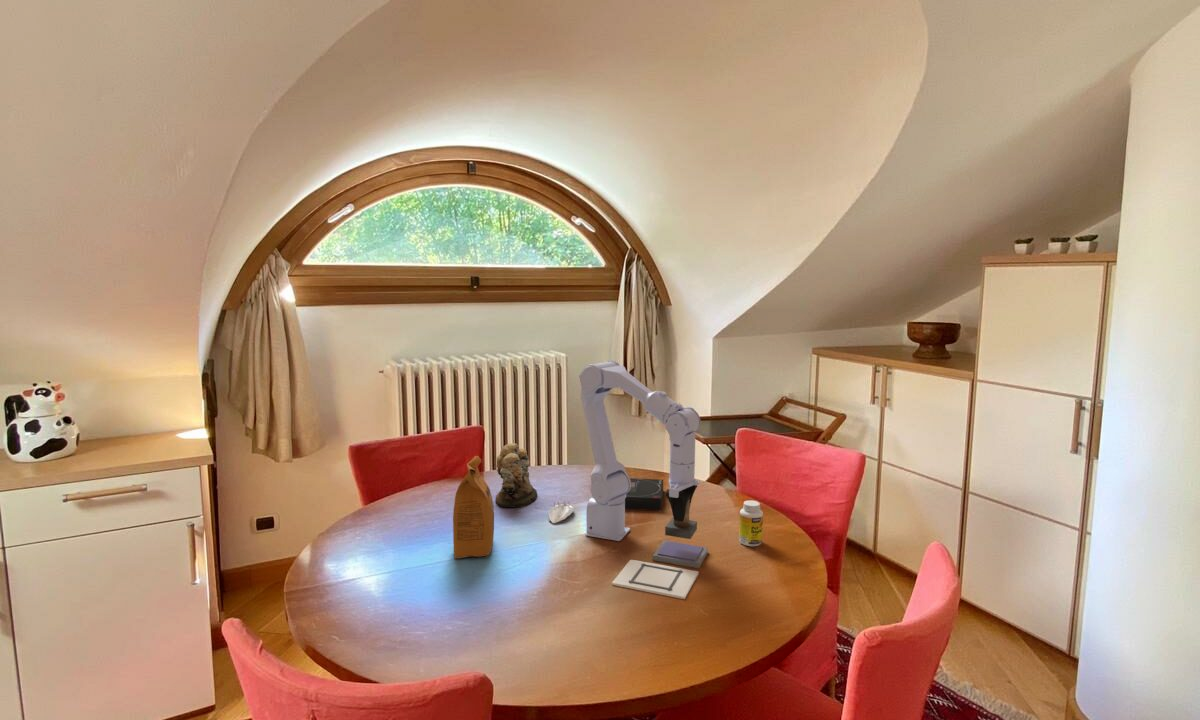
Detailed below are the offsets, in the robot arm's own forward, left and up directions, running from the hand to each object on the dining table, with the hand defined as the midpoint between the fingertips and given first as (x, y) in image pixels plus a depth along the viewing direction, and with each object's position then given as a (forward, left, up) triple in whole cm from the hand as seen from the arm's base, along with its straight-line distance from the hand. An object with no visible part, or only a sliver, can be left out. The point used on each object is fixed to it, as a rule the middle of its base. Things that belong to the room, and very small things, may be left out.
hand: (681, 517), depth 149 cm
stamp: (0, 0, -4) cm, 4 cm away
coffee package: (-47, -15, -10) cm, 50 cm away
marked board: (-2, -13, -10) cm, 16 cm away
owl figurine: (-55, +19, -10) cm, 59 cm away
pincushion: (-37, +12, -10) cm, 40 cm away
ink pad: (0, 0, -10) cm, 10 cm away
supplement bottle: (+14, +14, -10) cm, 22 cm away
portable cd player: (-23, +32, -10) cm, 41 cm away
